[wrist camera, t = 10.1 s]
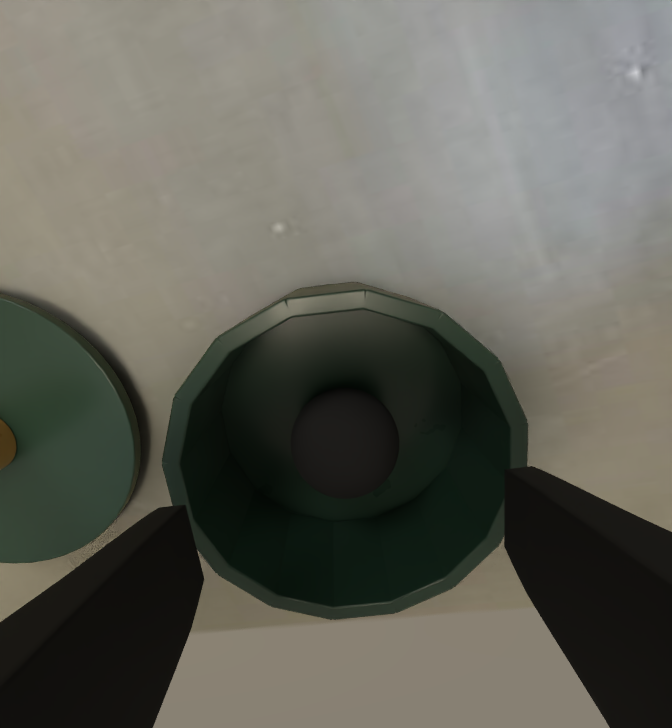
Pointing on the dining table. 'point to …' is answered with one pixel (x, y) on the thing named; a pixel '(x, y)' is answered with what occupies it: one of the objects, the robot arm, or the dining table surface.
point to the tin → (333, 515)
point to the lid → (59, 437)
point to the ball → (345, 443)
